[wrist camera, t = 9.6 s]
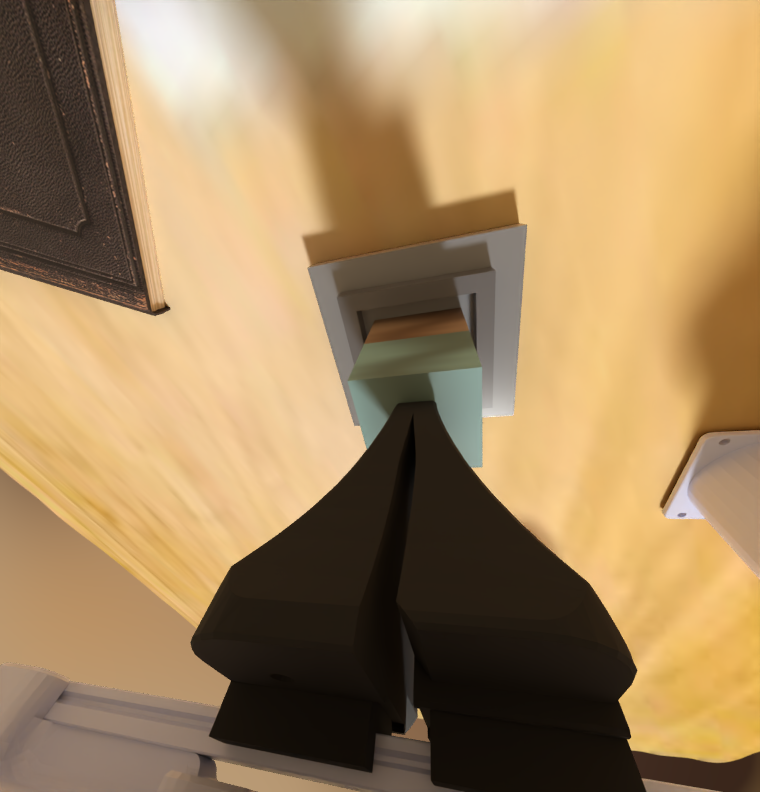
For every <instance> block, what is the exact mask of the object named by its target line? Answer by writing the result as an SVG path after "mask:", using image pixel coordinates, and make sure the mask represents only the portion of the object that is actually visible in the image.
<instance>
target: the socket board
mask: <svg viewBox="0 0 760 792" xmlns="http://www.w3.org/2000/svg"><path fill="white" fill-rule="evenodd" d="M526 233H527V225H525V224H520V223H519V224H514V225H509V226H504V227H499V228H494V229H489V230H484V231H479V232H473V233H468V234H463V235H458V236H453V237H448V238H443V239H438V240H433V241H428V242H423V243H418V244H413V245H408V246H402V247H397V248H392V249H387V250H382V251H377V252H372V253H367V254H362V255H357V256H352V257H347V258H342V259H337V260H332V261H326V262H321V263H316V264H314V265H312V266H310V267H308V271H309V275H310V278H311V281H312V285H313V288H314V291H315V295H316V298H317V301H318V305H319V308H320V312H321V315H322V318H323V322H324V325H325V328H326V332H327V335H328V338H329V342H330V345H331V348H332V352H333V355H334V359H335V362H336V365H337V369H338V372H339V375H340V379H341V382H342V385H343V389H344V392H345V396H346V399H347V402H348V406H349V409H350V412H351V416H352V419H353V422H354V426H360V423H359V420H358V416H357V413H356V409H355V406H354V402H353V399H352V395H351V392H350V388H349V385H348V379H349V376H350V374H351V372H352V370H353V368H354V365H355V363H356V361H357V359H358V356H359V354H360V352H361V350H362V348H363V345H364V343H365V341H366V339H367V336H368V334H369V332H370V330H371V328H372V325H373V323H374V321H375V320H379V319H386V318H393V317H399V316H406V315H413V314H420V313H427V312H433V311H440V310H447V309H454V308H461V309H462V312H463V315H464V317H465V320H466V323H467V326H468V329H469V332H470V334H471V337H472V340H473V343H474V346H475V349H476V351H477V354H478V357H479V360H480V363H481V366H482V417H497V416H512V415H514V402H515V388H516V374H517V360H518V346H519V332H520V318H521V304H522V290H523V275H524V261H525V247H526Z"/></svg>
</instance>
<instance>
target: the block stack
mask: <svg viewBox="0 0 760 792" xmlns="http://www.w3.org/2000/svg"><path fill="white" fill-rule="evenodd" d="M348 385H349V388H350V392H351V395H352V399H353V402H354V406H355V409H356V413H357V416H358V420H359V423H360V427H361V430H362V434H363V437H364V441H365V444H366V448H367V449H368V448H369V446H370V445H371V444H372V442H373V441H374V439H375V438H376V436H377V435H378V434H379V432H380V431H381V429H382V428H383V426H384V425H385V423H386V421H387V420H388V418H389V417H390V415H391V413H392V411H393V410H394V408H395V406H396V405H397V404H398V403H409V402H422V401H434V402H436V403H437V409H438V412H439V415H440V417H441V419H442V422H443V424H444V426H445V428H446V430H447V432H448V433H449V435H450V437H451V439H452V440H453V442H454V444H455V445H456V447H457V448H458V450H459V451H460V453H461V454H462V456H463V457H464V459H465V460H466V462H467V463H468V464H469V466H470V467H482V366H481V363H480V360H479V357H478V354H477V351H476V349H475V346H474V343H473V340H472V337H471V334H470V332H469V329H468V326H467V323H466V320H465V317H464V315H463V312H462V309H461V308H454V309H447V310H440V311H433V312H427V313H420V314H413V315H406V316H399V317H393V318H386V319H379V320H375V321H374V323H373V325H372V328H371V330H370V332H369V334H368V336H367V339H366V341H365V343H364V345H363V348H362V350H361V352H360V354H359V356H358V359H357V361H356V363H355V365H354V368H353V370H352V372H351V374H350V376H349V379H348Z"/></svg>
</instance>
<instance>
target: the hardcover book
mask: <svg viewBox="0 0 760 792" xmlns="http://www.w3.org/2000/svg"><path fill="white" fill-rule="evenodd" d="M0 270H4V271H7V272H10V273H14V274H17V275H20V276H24V277H27V278H30V279H34V280H37V281H40V282H44V283H47V284H50V285H54V286H57V287H60V288H63V289H67V290H70V291H73V292H77V293H80V294H83V295H87V296H90V297H93V298H97V299H100V300H103V301H107V302H110V303H113V304H117V305H120V306H123V307H127V308H130V309H133V310H137V311H140V312H143V313H147V314H150V315H154V316H156V315H159V314H163V313H165V312H166V311H168V310H170V307H167V306H165V300H164V294H163V288H162V282H161V276H160V270H159V264H158V258H157V252H156V246H155V240H154V234H153V228H152V222H151V216H150V210H149V204H148V198H147V192H146V186H145V180H144V174H143V168H142V162H141V156H140V150H139V144H138V138H137V132H136V126H135V120H134V114H133V108H132V102H131V96H130V90H129V84H128V78H127V72H126V66H125V60H124V54H123V48H122V42H121V36H120V30H119V24H118V18H117V12H116V6H115V0H0Z"/></svg>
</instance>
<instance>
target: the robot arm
mask: <svg viewBox="0 0 760 792" xmlns="http://www.w3.org/2000/svg"><path fill="white" fill-rule="evenodd" d="M662 513H663V515H664V516H665V517H666V518H669V519H706V520H707V521H708V522H709V524H710V525H711V526H712V527H713V528H714V529H715V530H716V531H717V532H718V534H719V535H720V536H721V537H722V538H723V539H724V540H725V541H726V542H727V544H728V545H729V546H730V547H731V548H732V549H733V550H734V551H735V552H736V554H737V555H738V556H739V557H740V558H741V559H742V560H743V561H744V562H745V564H746V565H747V566H748V567H749V568H750V569H751V570H752V571H753V573H754V574H755V575H756V576H757V577H758V578H759V579H760V430H750V431H729V432H711V433H707V434H704V435H703V436H702V437H701V438H700V439H699V441H698V443H697V445H696V447H695V449H694V451H693V453H692V455H691V456H690V458H689V460H688V462H687V464H686V466H685V468H684V470H683V472H682V474H681V476H680V478H679V479H678V481H677V483H676V485H675V487H674V489H673V491H672V493H671V495H670V497H669V499H668V501H667V502H666V504H665V506H664V508H663V510H662ZM191 647H192V650H193V651H194V653H195V655H196V656H198V657H199V658H200V659H201V660H202V661H204V662H205V663H207V664H208V665H210V666H211V667H212V668H214V669H215V670H217V671H218V672H219V673H221V674H222V675H224V676H225V677H227V678H228V679H230V680H231V683H230V685H229V687H228V690H227V693H226V695H225V697H224V700H223V702H222V704H221V707H220V706H214V705H208V704H202V703H196V702H190V701H185V700H179V699H173V698H167V697H160V696H155V695H149V694H144V693H137V692H132V691H126V690H120V689H114V688H108V687H102V686H96V685H91V684H84V683H79V682H73V681H69V679H68V678H67V677H65V676H63V675H60V674H58V673H55V672H53V671H50V670H47V669H44V668H40V667H35V666H29V665H22V664H16V663H9V662H7V663H4V664H2V665H0V792H256V791H253V790H249V789H247V788H243V787H238V786H234V785H231V784H226V783H223V782H218V780H217V778H216V764H215V761H214V760H218V761H223V762H227V763H232V764H236V765H241V766H245V767H250V768H255V769H259V770H264V771H268V772H273V773H278V774H283V775H287V776H292V777H296V778H301V779H305V780H310V781H314V782H319V783H324V784H329V785H333V786H338V787H342V788H347V789H351V790H356V791H360V792H719V791H713V790H707V789H701V788H695V787H690V786H684V785H678V784H671V783H666V782H660V781H655V780H649V779H642V778H641V776H640V773H639V770H638V768H637V765H636V762H635V760H634V757H633V754H632V752H631V749H630V746H629V744H628V741H627V739H630V738H631V734H630V729H629V727H628V724H627V721H626V719H625V716H624V714H623V711H622V709H621V706H620V704H619V701H618V700H619V698H620V697H621V696H622V695H623V694H624V693H625V692H626V690H627V689H628V688H629V687H630V686H631V685H632V683H633V680H634V678H635V675H636V673H637V668H636V666H635V664H634V662H633V659H632V656H631V654H630V651H629V649H628V647H627V645H626V643H625V641H624V639H623V637H622V636H621V634H620V632H619V630H618V629H617V627H616V625H615V623H614V622H613V620H612V618H611V617H610V615H609V613H608V612H607V610H606V608H605V607H604V605H603V604H602V602H601V600H600V599H599V597H598V596H597V594H596V593H595V591H594V590H593V588H592V587H591V585H590V584H589V583H588V582H587V581H586V580H585V579H584V578H582V577H581V576H580V575H579V574H578V573H576V572H575V571H574V570H573V569H572V568H570V567H569V566H568V565H567V564H566V563H564V562H563V561H562V560H561V559H560V558H559V557H557V556H556V555H555V554H554V553H553V552H552V551H551V550H549V549H548V548H547V547H546V546H545V545H544V544H543V543H542V542H540V541H539V540H538V539H537V538H536V537H535V536H534V535H533V534H532V533H531V532H530V531H529V530H528V529H526V528H525V527H524V526H523V525H522V524H521V523H520V522H519V521H518V520H517V519H516V518H515V517H514V516H513V515H512V514H511V513H510V512H509V511H508V509H507V508H506V507H505V506H504V505H503V504H502V503H501V502H500V501H499V500H498V499H497V498H496V497H495V496H494V495H493V494H492V493H491V491H490V490H489V489H488V488H487V487H486V486H485V485H484V483H483V482H482V481H481V480H480V479H479V477H478V476H477V475H476V474H475V472H474V471H473V470H472V468H471V467H470V466H469V464H468V463H467V462H466V460H465V459H464V457H463V456H462V454H461V453H460V451H459V450H458V448H457V447H456V445H455V444H454V442H453V440H452V439H451V437H450V435H449V433H448V432H447V430H446V428H445V426H444V424H443V422H442V419H441V417H440V415H439V412H438V409H437V403H436V402H434V401H422V402H409V403H398V404H397V405H396V406H395V408H394V410H393V411H392V413H391V415H390V417H389V418H388V420H387V421H386V423H385V425H384V426H383V428H382V429H381V431H380V432H379V434H378V435H377V436H376V438H375V439H374V441H373V442H372V444H371V445H370V446H369V448H368V449H367V450H366V451H365V453H364V454H363V455H362V457H361V458H360V459H359V460H358V462H357V463H356V464H355V465H354V466H353V467H352V469H351V470H350V471H349V472H348V473H347V474H346V475H345V476H344V477H343V478H342V480H341V481H340V482H339V483H338V484H337V485H336V486H335V487H334V488H333V489H332V490H331V491H329V492H328V493H327V494H326V495H325V496H324V497H323V498H322V499H321V500H320V501H319V502H318V503H316V504H315V505H314V506H313V507H312V508H311V509H310V510H309V511H307V512H306V513H305V514H304V515H302V516H301V517H300V518H299V519H297V520H296V521H295V522H294V523H292V524H291V525H290V526H288V527H287V528H286V529H285V530H283V531H282V532H281V533H279V534H278V535H277V536H275V537H274V538H272V539H271V540H270V541H268V542H267V543H265V544H264V545H262V546H261V547H259V548H258V549H256V550H255V551H253V552H252V553H251V554H249V555H248V556H246V557H245V558H243V559H242V560H240V561H239V562H237V563H236V564H234V565H233V566H231V568H230V570H229V571H228V573H227V575H226V576H225V578H224V580H223V582H222V583H221V585H220V587H219V589H218V591H217V592H216V594H215V596H214V598H213V600H212V602H211V604H210V605H209V607H208V609H207V611H206V613H205V615H204V617H203V618H202V620H201V622H200V624H199V626H198V628H197V630H196V631H195V633H194V635H193V637H192V640H191ZM417 708H419V709H420V711H421V713H422V716H423V718H424V720H425V723H426V725H427V727H428V739H429V740H430V742H425V741H420V740H413V739H408V738H402V737H396V736H391V734H392V733H397V734H402V735H405V733H406V732H407V731H408V730H409V728H410V727H411V726H412V725H413V723H414V722H415V720H416V719H417V717H418V715H417ZM212 759H213V760H212Z"/></svg>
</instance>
